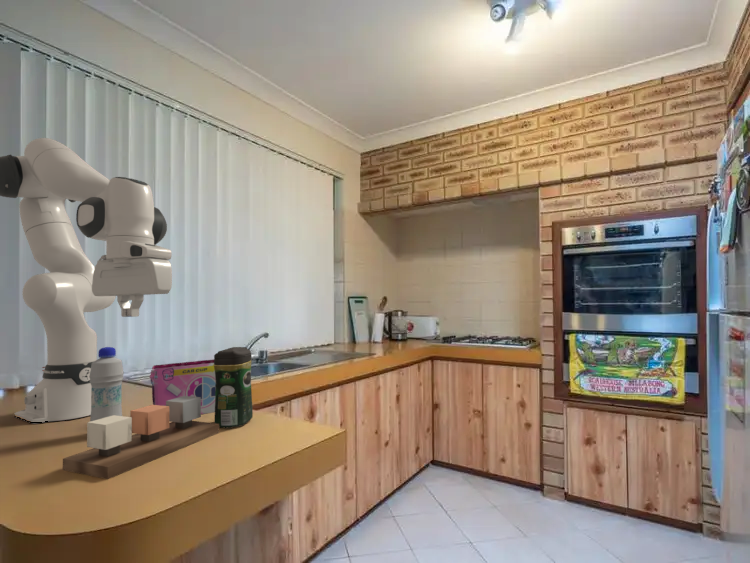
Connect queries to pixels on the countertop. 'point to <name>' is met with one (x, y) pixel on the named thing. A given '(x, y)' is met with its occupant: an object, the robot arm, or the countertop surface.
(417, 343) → the countertop surface
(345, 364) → the countertop surface
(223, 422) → the coffee jar
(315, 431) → the countertop surface
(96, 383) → the bottle
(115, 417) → the cream button
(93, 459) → the button board
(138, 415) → the terracotta button
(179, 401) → the slate-grey button
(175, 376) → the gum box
